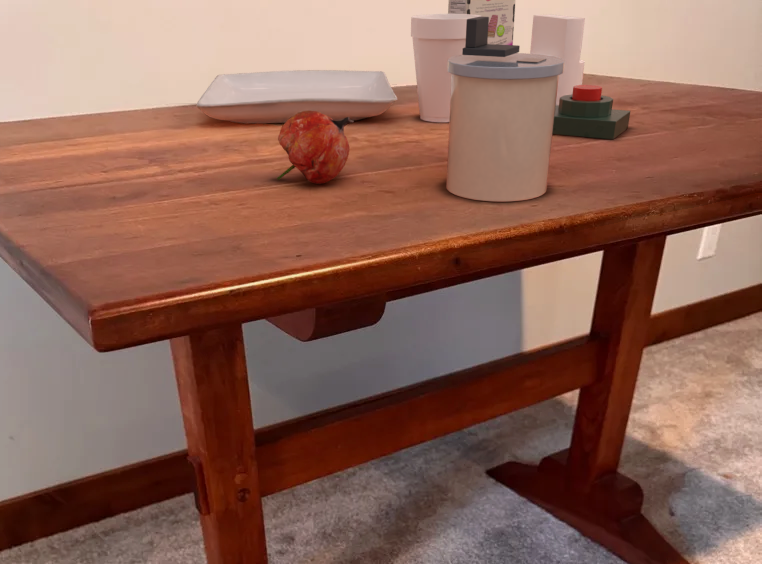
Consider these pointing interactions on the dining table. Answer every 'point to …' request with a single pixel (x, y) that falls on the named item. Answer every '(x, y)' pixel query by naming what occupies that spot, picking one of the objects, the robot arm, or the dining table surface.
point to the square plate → (296, 95)
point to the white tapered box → (560, 47)
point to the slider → (484, 40)
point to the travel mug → (501, 125)
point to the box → (589, 118)
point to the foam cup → (436, 60)
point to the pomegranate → (315, 145)
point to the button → (587, 92)
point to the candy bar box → (490, 17)
